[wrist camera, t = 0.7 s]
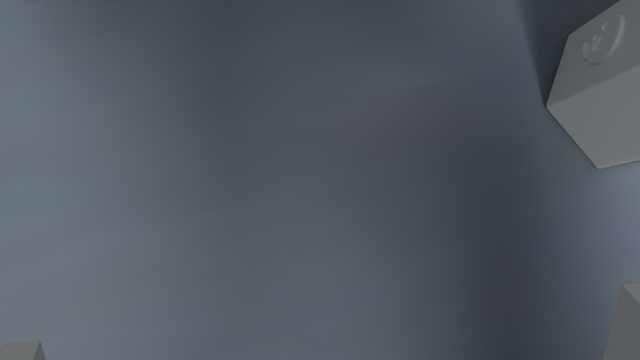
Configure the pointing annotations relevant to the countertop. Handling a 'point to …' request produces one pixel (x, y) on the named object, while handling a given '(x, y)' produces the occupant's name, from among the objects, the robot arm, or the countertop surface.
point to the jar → (602, 86)
